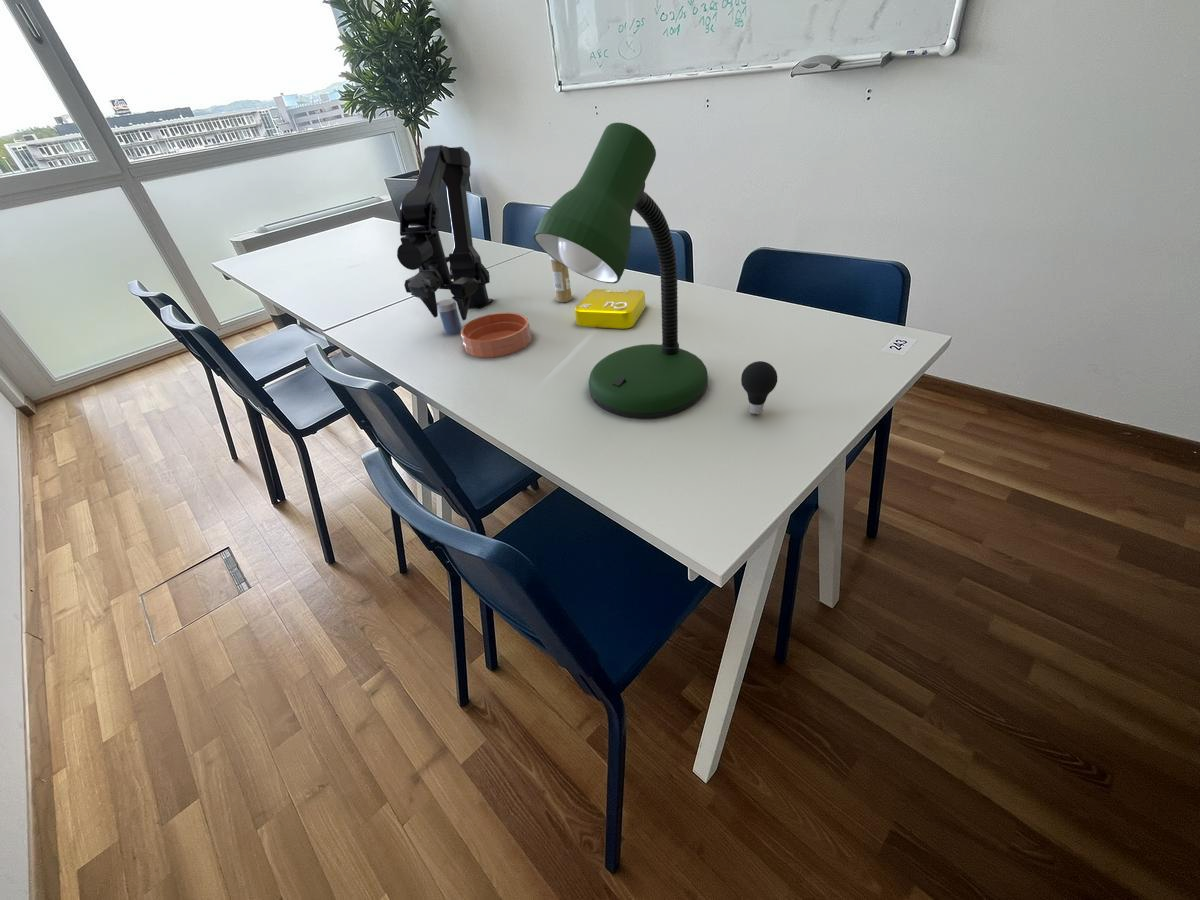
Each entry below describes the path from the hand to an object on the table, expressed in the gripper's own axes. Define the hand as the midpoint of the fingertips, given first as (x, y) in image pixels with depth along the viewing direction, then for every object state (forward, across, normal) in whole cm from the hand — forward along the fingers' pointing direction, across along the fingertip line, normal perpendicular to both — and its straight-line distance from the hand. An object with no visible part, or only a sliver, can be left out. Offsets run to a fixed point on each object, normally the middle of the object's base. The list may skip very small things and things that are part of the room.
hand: (450, 318), depth 131 cm
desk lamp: (+4, +57, -17) cm, 60 cm away
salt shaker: (+4, 0, 0) cm, 4 cm away
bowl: (+4, +16, -3) cm, 17 cm away
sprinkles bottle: (+4, +19, +26) cm, 32 cm away
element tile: (+4, +37, +18) cm, 41 cm away
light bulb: (+4, +80, -17) cm, 82 cm away
